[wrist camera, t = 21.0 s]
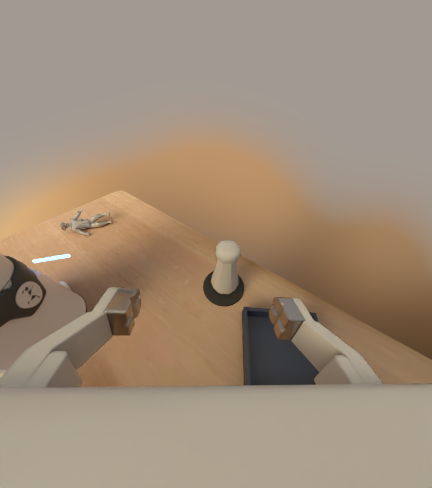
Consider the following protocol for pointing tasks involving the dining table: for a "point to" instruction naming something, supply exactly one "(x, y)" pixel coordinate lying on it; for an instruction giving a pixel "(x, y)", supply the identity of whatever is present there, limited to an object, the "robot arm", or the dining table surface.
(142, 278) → the dining table surface
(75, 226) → the soldier figure
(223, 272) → the salt shaker
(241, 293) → the coaster
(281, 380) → the tray
